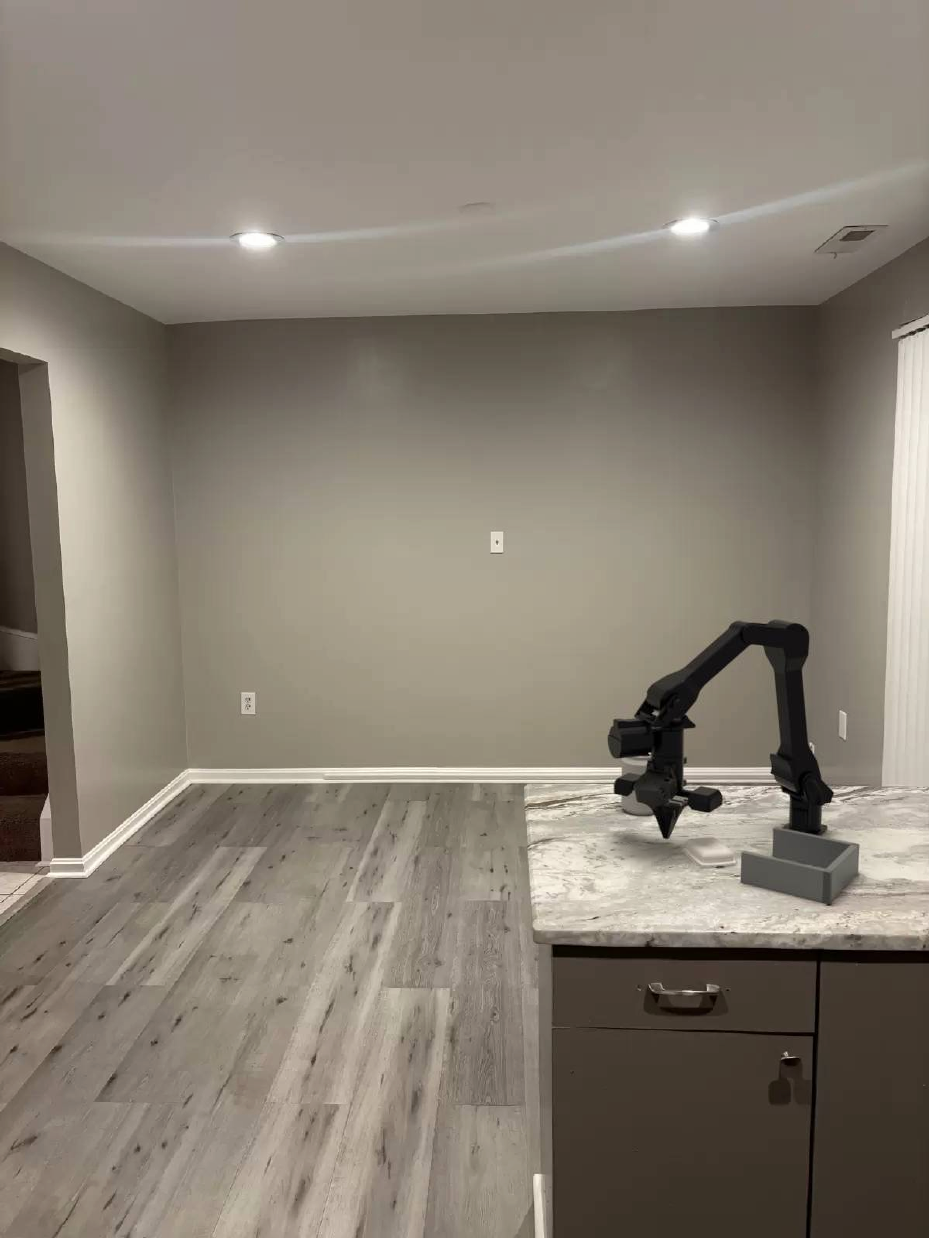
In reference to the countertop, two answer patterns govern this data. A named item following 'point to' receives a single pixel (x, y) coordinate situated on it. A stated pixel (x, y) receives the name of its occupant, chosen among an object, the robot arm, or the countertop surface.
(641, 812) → the can
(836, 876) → the box
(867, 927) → the countertop surface
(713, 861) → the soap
